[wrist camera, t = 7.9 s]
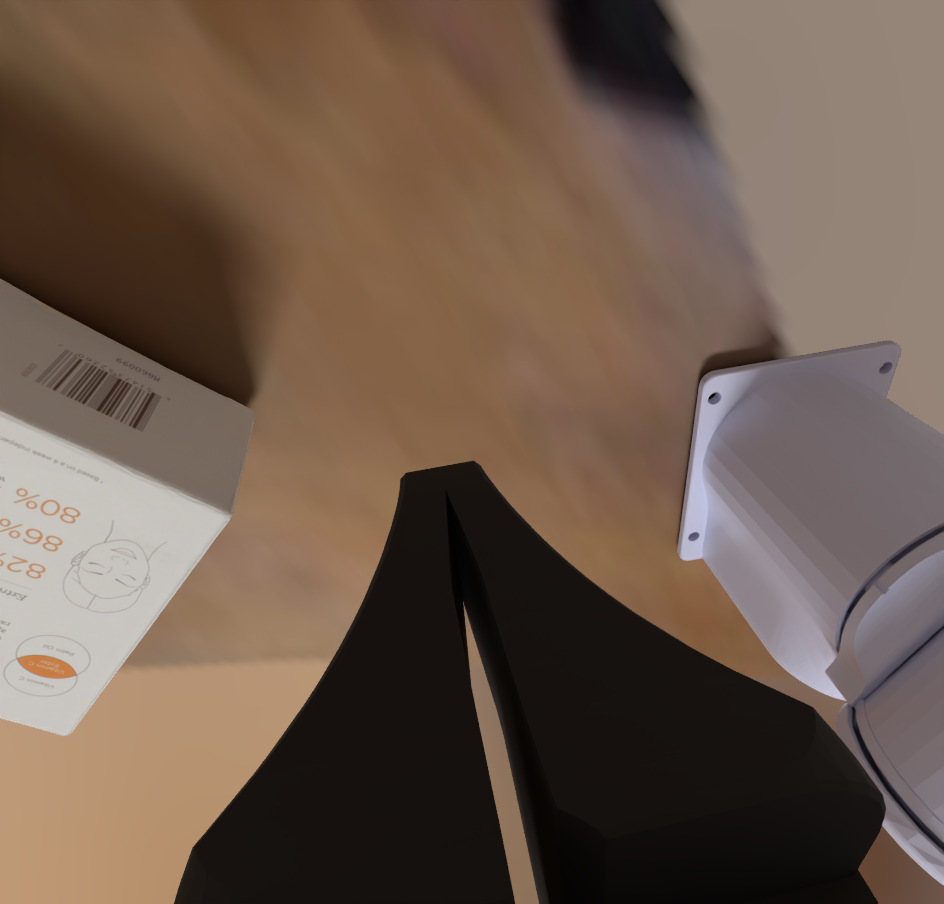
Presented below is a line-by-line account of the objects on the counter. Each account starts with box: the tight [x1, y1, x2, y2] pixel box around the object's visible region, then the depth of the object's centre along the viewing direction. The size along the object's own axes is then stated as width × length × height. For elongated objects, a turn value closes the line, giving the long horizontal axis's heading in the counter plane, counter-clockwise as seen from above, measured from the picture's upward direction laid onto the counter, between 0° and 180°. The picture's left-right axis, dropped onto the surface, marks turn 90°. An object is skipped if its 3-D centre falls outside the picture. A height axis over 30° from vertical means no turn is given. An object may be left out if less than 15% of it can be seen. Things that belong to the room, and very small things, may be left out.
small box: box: [0, 279, 255, 736], centre depth 18 cm, size 8×6×10 cm
